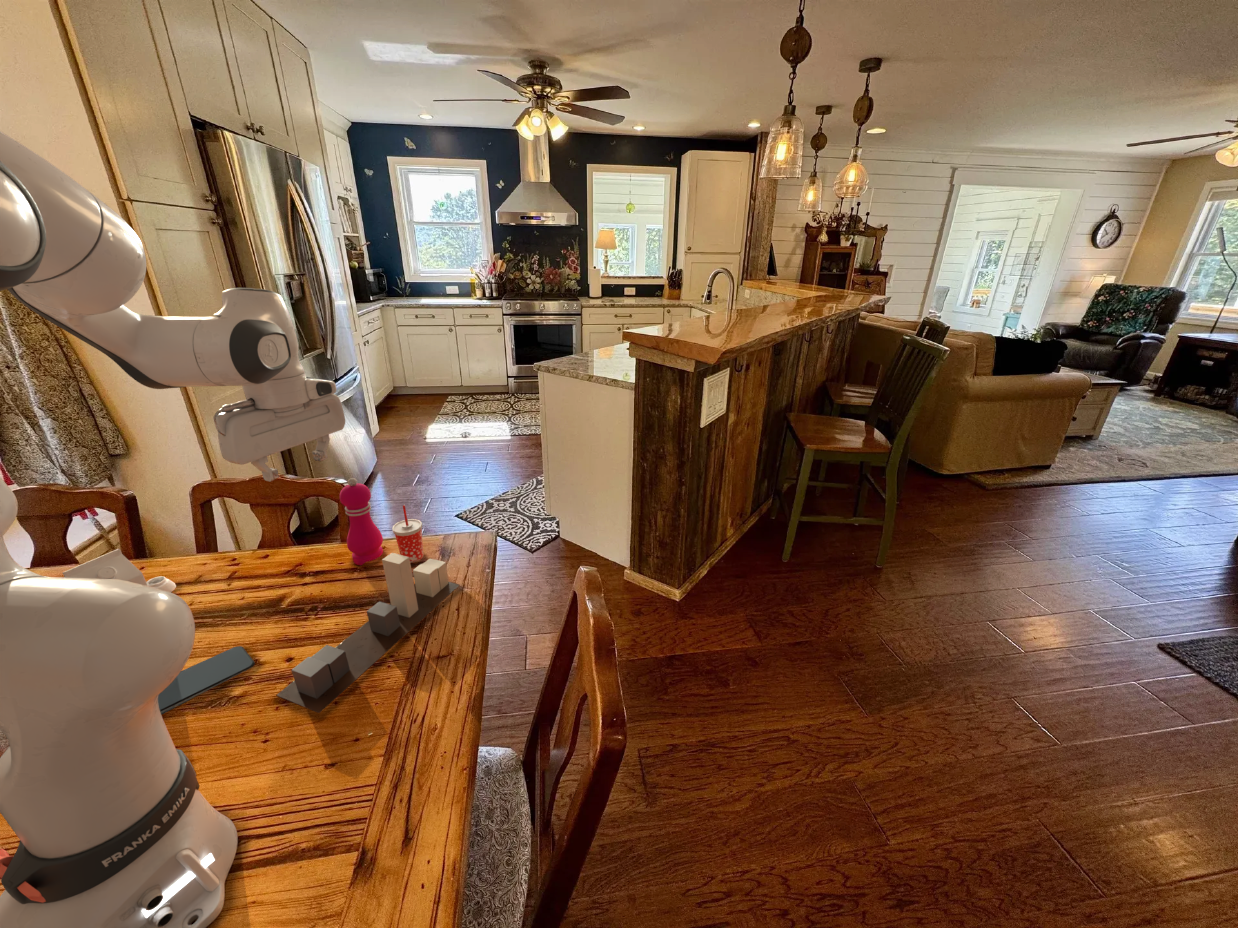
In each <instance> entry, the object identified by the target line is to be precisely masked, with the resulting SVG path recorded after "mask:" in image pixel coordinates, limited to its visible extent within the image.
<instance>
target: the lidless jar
mask: <svg viewBox="0 0 1238 928" xmlns="http://www.w3.org/2000/svg"><path fill="white" fill-rule="evenodd" d="M146 583H147V585H148V586H149V587H153V588H156V589H160V590H163V591H167V592H170V593H173V591H175V590H176V588H177V584H176V583H175V581H172V580H171V579H169V578H167V577H165V576H162V575H160V576H155V577H152V578H150V579H149V580H146Z"/></svg>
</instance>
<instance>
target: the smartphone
mask: <svg viewBox="0 0 1238 928" xmlns="http://www.w3.org/2000/svg"><path fill="white" fill-rule="evenodd" d="M254 666H255V661H254V659H253V658H252V656H250V654H249V653H248V651H246V649H245V647H243V646H241V645H238V646H234V647H231V648H229V649H227V650H224V651H223V652H221V653H220V652H219V653H217V654H216V655H214V656H211V657H209V658H207V659H205V660H202V661H200V662H198V663H196V664H194V665H191V666H189V667H186V668H184V669H182V670H181V672H180V673H179V674H178V676H177V677H176V678H175V679H174V680H173V682H172V683H171V684H170V685H169V686H168V687H167V688H165V689H164V690H163V691H162V692H161V693H160V694H159V695H158V705H159V710H160V713H161V715H164V714H166V713H167V712H169V711H171V710H173V709H175V708H176V707H179V706H181V705H183V704H185V703H188V702H189V701H191V700H192V699H194V698H196V697H198V696H200V695H202V694H204V693H206V692H208V691H209V690H211V689H213V688H215V687H217V686H219V685H221V684H223V683H224V682H227V681H229V680H231V679H232V678H235V677H237V676H238V675H241V674H242V673H244V672H246V671H248V670H250V669H252V668H253V667H254Z"/></svg>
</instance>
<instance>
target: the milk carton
mask: <svg viewBox="0 0 1238 928" xmlns="http://www.w3.org/2000/svg"><path fill="white" fill-rule="evenodd" d="M62 575H63V578H92V579H119V580H124V581H129V582H133V583H137V584H141V585H145V586H148V585H147V583H146V582H147V580H146V578H145V576H144V574H143V572H142V571H141V570H140V569H139V568H138V567H137V566H136V565H135V564H133V563H132V562H131V561H130V560H129V559H128V558H127V556H125V555H124V554H123V553H122V551H121V549H120V548H117V549H114V550H112V551H110V552H107V553H105V554H103V555H100V556H98V557H95V558H93V559H90V560H88V561H86V562H84V563H80V564H79V565H77V566H74V567H72V568H69V569H67V570H65V571H62Z"/></svg>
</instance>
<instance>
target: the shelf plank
mask: <svg viewBox="0 0 1238 928" xmlns="http://www.w3.org/2000/svg"><path fill="white" fill-rule="evenodd" d="M460 586H461V584H458V583H455V582H452V581H449V583H448V584H447V585H446V586H445V587H444V588H443V589H442V590H440V591H439V592H438V593H437V594H436V595H435V596H434V597H430V596H427V595H423V594H419V593H417V591H416V586H415V583H414V588H415V593H416V599H417V605H418V611H416V612H415V613H414V614H413V615H412V616H411V617H410V618H408V617H405V616H402V615H399V614H398V617H399V622H400V626H399V627H398V628H397V629H396V630H395V631H394V632H393V633H391V634H390V635H389V636H386V635H383V634H380V633H377V632H373V631H371V628H370V624H369V620H368V621H366V622H365V623H364V624H363V625H361V626H360V627H359V628H357V629H356V630H355V631H354V632H353V633H351V634H350V635H349V636H348V637H347V638H345V639H344V640H343V641H342V642H340V643H339V644H338V645H337V646H335V648H337V649H340V650H343V651H345V653H346V656H347V660H348V664H349V668H350V670H349V671H348V672H347V673H346V674H345V675H344V676H342V677H341V678H340V679H339V680H338V681H337V682H336V683H333V685H332V686H331V687H330V688H329V689H328V690H327V691H325V692H324V693H323V694H322V695H321V696H320V697H319V698H317V699H316V698H314V697H311V696H309V695H306V694H304V693H301V692H298V690H297V686H296V683H295V680H294V679H293V681H292V682H291V683H290V684H288V685H287V686H286V687H284V688H283V689H282V690H280V691H279V692H278V693H277V694H276V697H278V698H281V699H283V700H286V701H288V702H290V703H293V704H296V705H298V706H301V707H303V708H305V709H308V710H310V711H312V712H315V713H316V714H317V713H318V714H321V712H323V711H324V710H325V709H326V708H327V707H328V706H329V705H330V704H331V703H332V702H333V701H335V700H336V699H337V698H338V697H339V696H340V695H341V694H342V693H344V692H345V691H346V690H347V689H348V688H349V687H350V686H351V685H353V683H355V681H356V680H357V679H359V678H360V677H361V676H362V675H363V674H364V673H365V672H367V671H368V670H369V669H370V668H371V667H372V666H373V665H375V663H377V662H378V661H379V660H380V659H381V658H382V657H383V656H384V655H385V654H386V653H388V651H389V650H390V649H392V648H393V647H394V646H395V645H396V644H398V642H400V640H402V638H404V637H405V636H406V635H407V634H409V632H410V631H412V629H414V628H415V627H416V626H417V625H418V624H420V623H421V622H422V620H424V619H425V617H428V615H430V613H431V612H432V611H433V610H435V609H436V607H438V606H439V605H440V604H441V603H443V601H444V600H445V599H447V598H448V597H449V596H450V595H451V594H452V593H453V592H454V591H455V590H457V589H458V587H460ZM389 604H390V605H391V602H390V603H389Z"/></svg>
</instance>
